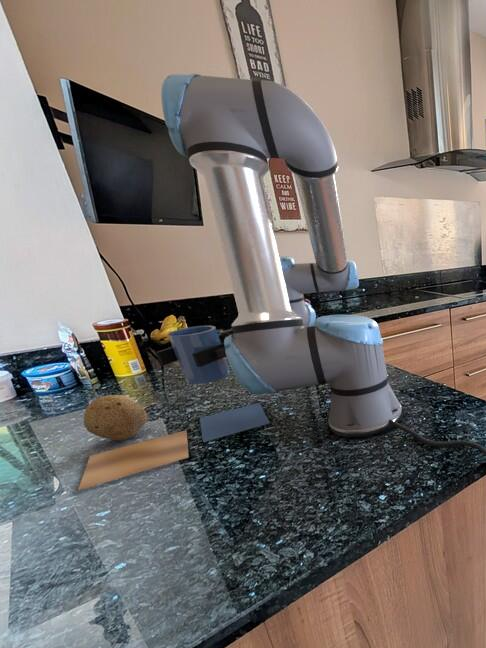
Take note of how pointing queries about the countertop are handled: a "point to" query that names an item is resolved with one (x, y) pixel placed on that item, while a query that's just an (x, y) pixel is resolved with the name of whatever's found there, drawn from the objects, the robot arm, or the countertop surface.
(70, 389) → the countertop surface
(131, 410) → the brown potato
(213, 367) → the blue cup
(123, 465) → the cork mat
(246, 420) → the blue mat
